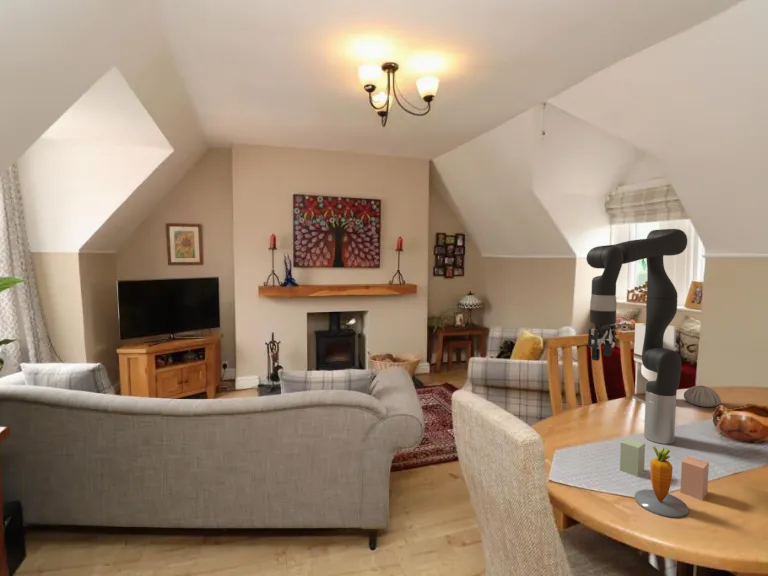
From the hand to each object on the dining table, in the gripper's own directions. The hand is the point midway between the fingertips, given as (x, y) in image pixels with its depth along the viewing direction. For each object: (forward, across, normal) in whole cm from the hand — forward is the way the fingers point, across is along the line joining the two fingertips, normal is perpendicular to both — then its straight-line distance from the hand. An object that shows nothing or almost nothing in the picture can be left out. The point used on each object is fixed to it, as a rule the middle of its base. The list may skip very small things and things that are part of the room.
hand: (601, 357), depth 138 cm
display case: (+33, +71, +8) cm, 79 cm away
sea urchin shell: (+34, +85, -7) cm, 92 cm away
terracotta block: (+33, -2, -27) cm, 43 cm away
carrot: (+33, -15, -23) cm, 43 cm away
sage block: (+33, -2, -11) cm, 35 cm away
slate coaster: (+33, -15, -23) cm, 43 cm away
